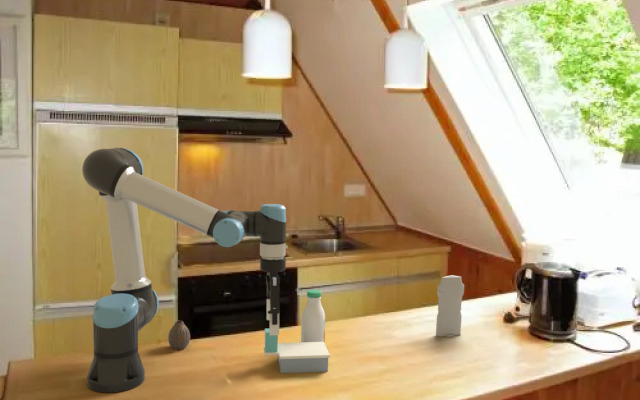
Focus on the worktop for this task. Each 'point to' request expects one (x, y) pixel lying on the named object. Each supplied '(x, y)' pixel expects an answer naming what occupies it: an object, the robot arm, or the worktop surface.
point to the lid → (294, 348)
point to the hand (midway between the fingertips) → (272, 327)
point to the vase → (179, 336)
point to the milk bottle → (313, 319)
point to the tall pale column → (449, 306)
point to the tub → (303, 365)
